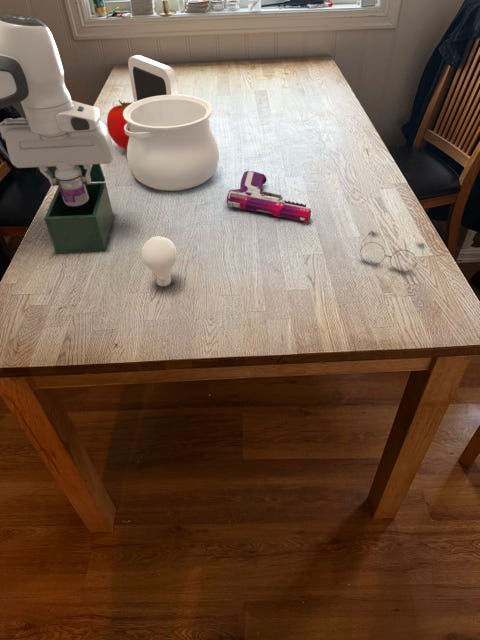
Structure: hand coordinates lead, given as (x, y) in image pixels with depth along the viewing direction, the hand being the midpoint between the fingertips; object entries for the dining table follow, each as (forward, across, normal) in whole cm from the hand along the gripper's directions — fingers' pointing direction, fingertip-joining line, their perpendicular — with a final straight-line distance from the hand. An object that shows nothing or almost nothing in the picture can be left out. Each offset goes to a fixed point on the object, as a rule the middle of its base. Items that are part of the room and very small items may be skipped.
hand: (71, 183), depth 95 cm
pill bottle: (+4, 0, 0) cm, 4 cm away
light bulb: (+13, +19, -20) cm, 30 cm away
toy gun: (+11, +48, +16) cm, 52 cm away
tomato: (+13, +6, +45) cm, 47 cm away
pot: (+13, +20, +27) cm, 36 cm away
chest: (+12, 0, 0) cm, 13 cm away
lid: (-4, 0, +5) cm, 6 cm away
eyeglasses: (+13, +67, -14) cm, 70 cm away
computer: (+2, +13, +49) cm, 51 cm away
